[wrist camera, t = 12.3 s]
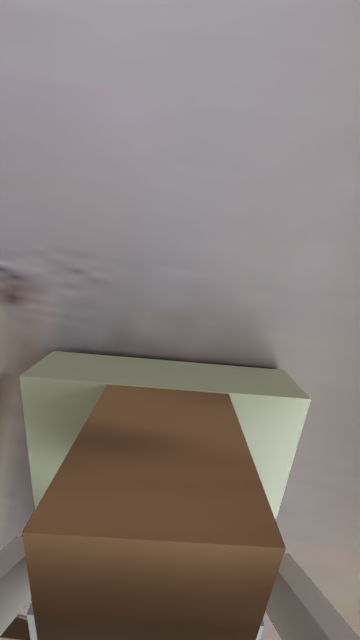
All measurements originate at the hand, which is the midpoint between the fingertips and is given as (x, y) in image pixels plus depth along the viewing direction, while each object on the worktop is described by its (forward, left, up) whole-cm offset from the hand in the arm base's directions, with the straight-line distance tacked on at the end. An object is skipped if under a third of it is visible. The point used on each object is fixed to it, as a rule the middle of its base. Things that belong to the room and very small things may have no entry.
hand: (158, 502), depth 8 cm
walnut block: (+2, 0, -2) cm, 2 cm away
